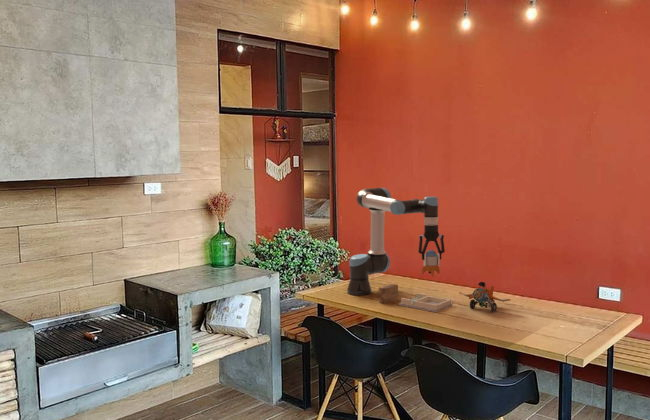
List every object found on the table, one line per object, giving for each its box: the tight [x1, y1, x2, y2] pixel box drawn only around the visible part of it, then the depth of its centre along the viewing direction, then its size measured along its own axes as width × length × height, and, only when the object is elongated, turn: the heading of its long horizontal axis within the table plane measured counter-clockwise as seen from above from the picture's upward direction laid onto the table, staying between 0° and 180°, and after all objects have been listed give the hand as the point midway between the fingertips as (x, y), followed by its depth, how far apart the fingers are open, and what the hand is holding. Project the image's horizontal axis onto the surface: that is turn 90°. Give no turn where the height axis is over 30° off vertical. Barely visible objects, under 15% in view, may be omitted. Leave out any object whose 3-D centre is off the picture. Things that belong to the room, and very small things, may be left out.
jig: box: [398, 292, 453, 313], centre depth 330 cm, size 24×18×4 cm
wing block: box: [378, 283, 399, 305], centre depth 341 cm, size 5×12×9 cm, turn 137°
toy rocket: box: [421, 249, 441, 278], centre depth 325 cm, size 10×11×15 cm
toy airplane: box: [458, 281, 512, 313], centre depth 318 cm, size 29×23×15 cm
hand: (431, 265), depth 326 cm, fingers closed on toy rocket, 7 cm apart
